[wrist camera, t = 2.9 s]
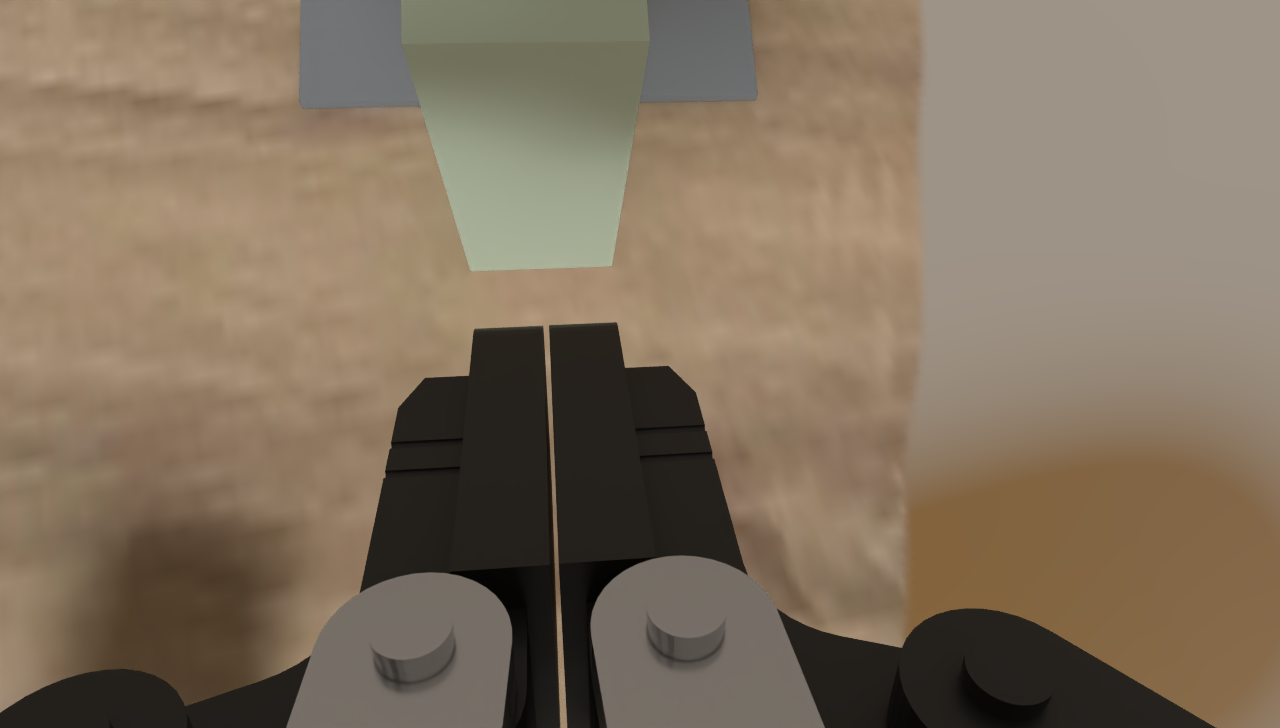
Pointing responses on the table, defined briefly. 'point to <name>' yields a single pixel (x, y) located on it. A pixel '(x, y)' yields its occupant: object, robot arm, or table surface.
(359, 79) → the felt mat
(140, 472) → the table surface
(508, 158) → the green block
